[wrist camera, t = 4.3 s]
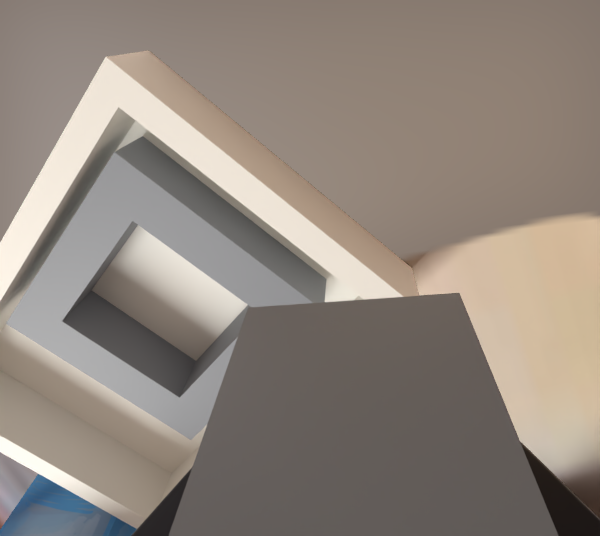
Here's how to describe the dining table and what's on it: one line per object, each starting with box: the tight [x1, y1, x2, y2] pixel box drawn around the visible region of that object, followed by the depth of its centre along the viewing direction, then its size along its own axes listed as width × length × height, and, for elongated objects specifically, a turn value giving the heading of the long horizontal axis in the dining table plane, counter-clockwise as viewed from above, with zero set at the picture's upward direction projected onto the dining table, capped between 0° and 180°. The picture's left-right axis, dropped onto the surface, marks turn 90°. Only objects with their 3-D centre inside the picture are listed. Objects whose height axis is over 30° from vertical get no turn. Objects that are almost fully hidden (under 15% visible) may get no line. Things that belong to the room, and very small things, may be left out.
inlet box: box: [0, 50, 419, 529], centre depth 21 cm, size 13×18×4 cm
